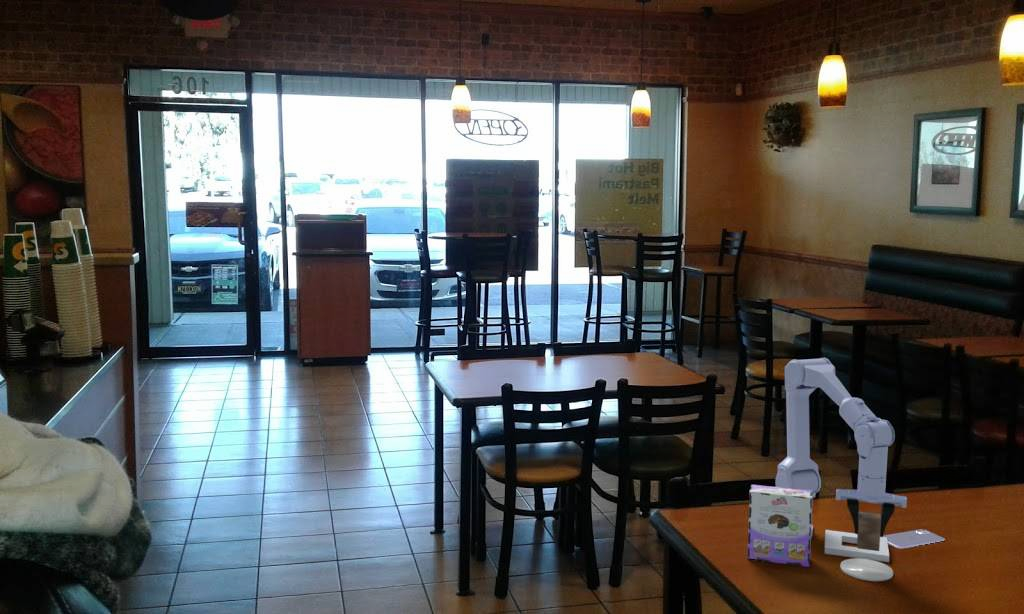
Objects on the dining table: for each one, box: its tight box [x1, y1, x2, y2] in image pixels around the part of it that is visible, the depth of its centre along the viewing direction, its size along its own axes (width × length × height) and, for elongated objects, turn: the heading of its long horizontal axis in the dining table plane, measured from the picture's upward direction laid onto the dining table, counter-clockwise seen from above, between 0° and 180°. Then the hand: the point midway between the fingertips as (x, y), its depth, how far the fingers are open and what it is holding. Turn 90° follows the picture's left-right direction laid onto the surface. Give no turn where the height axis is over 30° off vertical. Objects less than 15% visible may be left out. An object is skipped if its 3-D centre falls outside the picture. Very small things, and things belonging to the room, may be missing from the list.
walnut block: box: [856, 511, 881, 551], centre depth 203 cm, size 4×4×7 cm
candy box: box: [746, 484, 813, 568], centre depth 209 cm, size 14×6×16 cm, turn 71°
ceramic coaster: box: [839, 558, 894, 582], centre depth 203 cm, size 11×11×1 cm
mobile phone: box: [883, 528, 946, 550], centre depth 222 cm, size 8×1×15 cm
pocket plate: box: [824, 529, 890, 563], centre depth 216 cm, size 14×12×2 cm
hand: (868, 534), depth 202 cm, fingers closed on walnut block, 4 cm apart
